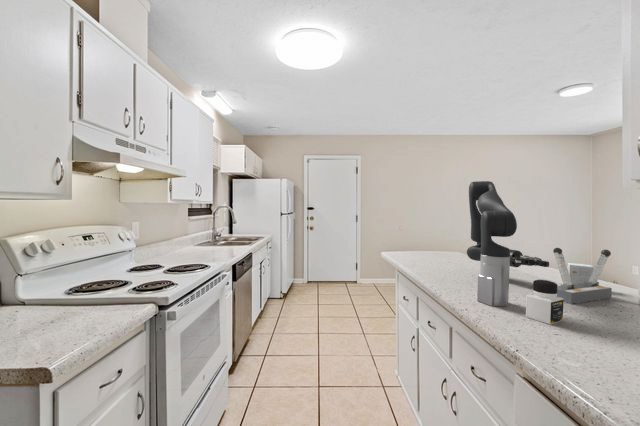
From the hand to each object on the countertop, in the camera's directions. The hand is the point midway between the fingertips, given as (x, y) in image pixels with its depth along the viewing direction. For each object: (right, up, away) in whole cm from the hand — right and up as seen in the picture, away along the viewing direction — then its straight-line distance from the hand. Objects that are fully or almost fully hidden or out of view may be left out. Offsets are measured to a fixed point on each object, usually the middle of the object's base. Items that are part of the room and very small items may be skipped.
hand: (548, 264), depth 122 cm
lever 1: (+3, -7, -7) cm, 10 cm away
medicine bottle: (-22, -13, -27) cm, 37 cm away
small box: (+21, -12, +10) cm, 26 cm away
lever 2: (+16, -7, -2) cm, 17 cm away
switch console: (+9, -12, -4) cm, 16 cm away
